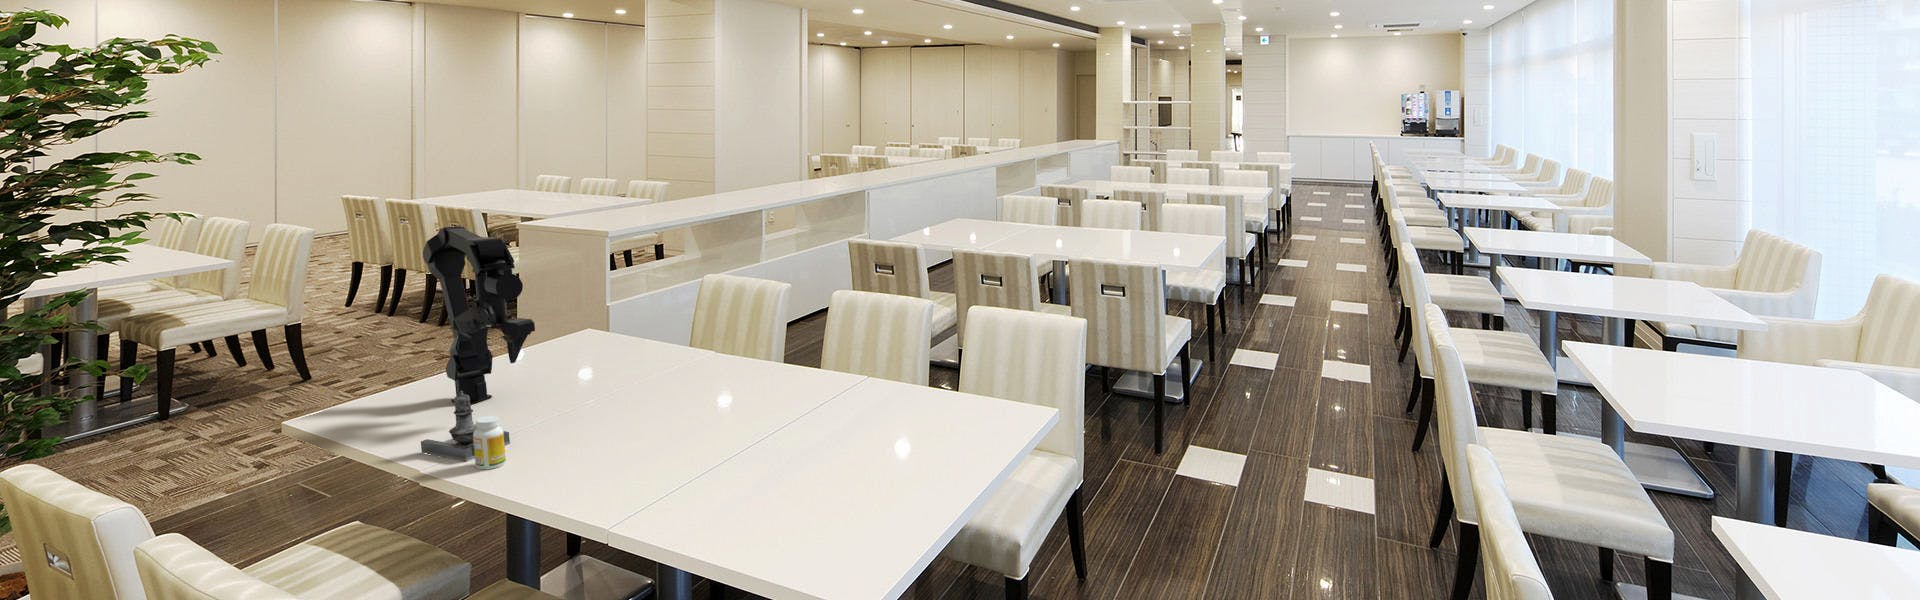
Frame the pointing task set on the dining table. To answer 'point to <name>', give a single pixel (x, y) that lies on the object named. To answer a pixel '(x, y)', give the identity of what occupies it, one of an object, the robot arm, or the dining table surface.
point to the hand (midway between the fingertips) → (497, 361)
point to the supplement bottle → (489, 443)
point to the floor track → (452, 449)
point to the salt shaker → (463, 421)
